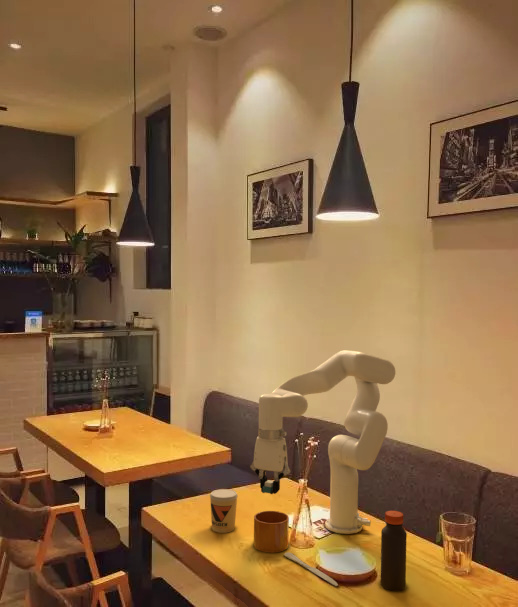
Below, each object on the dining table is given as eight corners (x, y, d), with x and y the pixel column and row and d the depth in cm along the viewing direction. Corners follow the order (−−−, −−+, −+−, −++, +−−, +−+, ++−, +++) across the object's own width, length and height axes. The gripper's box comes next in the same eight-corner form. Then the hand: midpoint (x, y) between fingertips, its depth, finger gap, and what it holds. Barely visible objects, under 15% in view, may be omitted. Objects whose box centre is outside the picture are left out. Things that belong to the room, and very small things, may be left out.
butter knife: (290, 551, 184) (282, 553, 183) (341, 583, 164) (333, 586, 163) (290, 552, 184) (282, 554, 183) (341, 585, 164) (333, 587, 163)
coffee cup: (204, 531, 200) (205, 495, 200) (216, 521, 209) (216, 487, 209) (230, 535, 197) (231, 499, 197) (241, 525, 206) (241, 490, 206)
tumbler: (291, 540, 194) (292, 513, 194) (283, 554, 183) (284, 525, 183) (259, 536, 197) (259, 509, 197) (249, 549, 187) (249, 521, 186)
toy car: (271, 495, 185) (271, 484, 185) (261, 493, 186) (261, 483, 186) (278, 489, 190) (278, 479, 190) (268, 488, 192) (268, 478, 191)
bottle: (376, 587, 164) (378, 514, 164) (385, 577, 170) (386, 507, 169) (400, 594, 160) (402, 520, 160) (408, 583, 166) (410, 512, 166)
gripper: (299, 434, 188) (298, 491, 188) (251, 428, 195) (251, 484, 195) (290, 439, 181) (290, 499, 182) (241, 433, 188) (241, 491, 188)
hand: (269, 491), depth 188 cm, fingers closed on toy car, 3 cm apart
